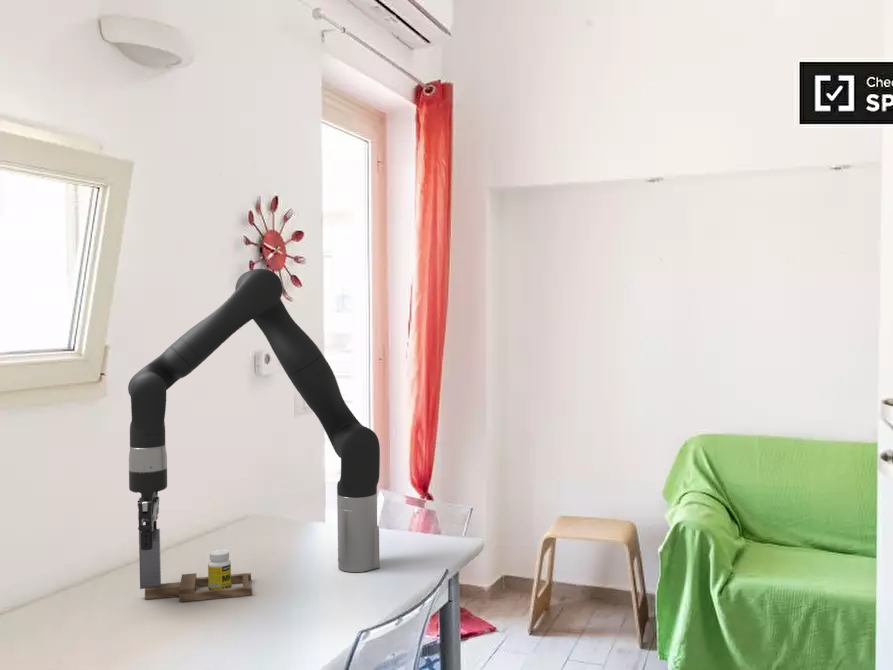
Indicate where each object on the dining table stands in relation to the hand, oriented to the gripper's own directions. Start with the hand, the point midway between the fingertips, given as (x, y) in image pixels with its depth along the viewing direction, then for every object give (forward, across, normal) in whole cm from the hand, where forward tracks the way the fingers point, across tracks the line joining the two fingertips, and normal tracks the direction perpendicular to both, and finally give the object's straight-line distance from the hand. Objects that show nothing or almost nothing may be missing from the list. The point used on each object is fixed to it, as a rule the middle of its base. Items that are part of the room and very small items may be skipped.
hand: (149, 543), depth 170 cm
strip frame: (+11, 0, -9) cm, 15 cm away
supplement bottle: (+12, 0, -14) cm, 18 cm away
